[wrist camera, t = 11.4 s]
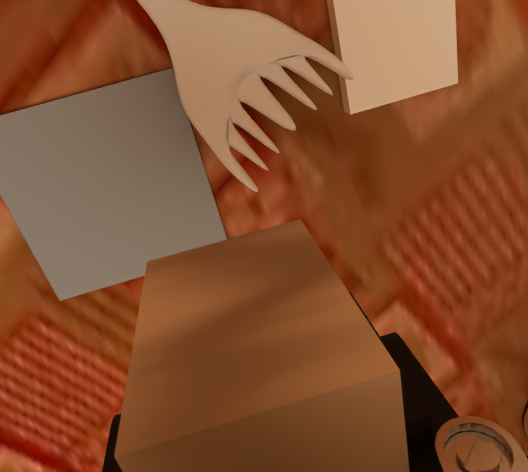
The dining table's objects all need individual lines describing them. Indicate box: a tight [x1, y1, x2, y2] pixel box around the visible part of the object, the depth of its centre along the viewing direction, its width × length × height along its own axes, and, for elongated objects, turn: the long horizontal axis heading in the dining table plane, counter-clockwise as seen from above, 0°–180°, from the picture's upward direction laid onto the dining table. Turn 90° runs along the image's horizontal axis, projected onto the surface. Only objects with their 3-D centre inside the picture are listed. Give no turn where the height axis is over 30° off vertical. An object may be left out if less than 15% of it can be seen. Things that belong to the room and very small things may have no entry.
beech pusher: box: [114, 219, 410, 472], centre depth 9 cm, size 4×5×6 cm
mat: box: [0, 68, 227, 300], centre depth 26 cm, size 12×12×1 cm
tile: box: [327, 0, 458, 115], centre depth 25 cm, size 7×2×7 cm
